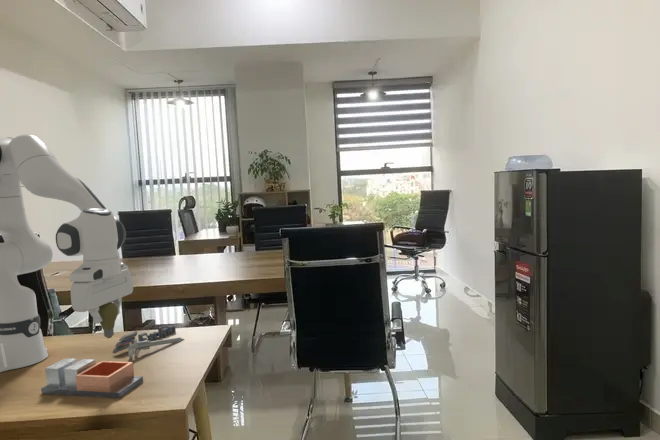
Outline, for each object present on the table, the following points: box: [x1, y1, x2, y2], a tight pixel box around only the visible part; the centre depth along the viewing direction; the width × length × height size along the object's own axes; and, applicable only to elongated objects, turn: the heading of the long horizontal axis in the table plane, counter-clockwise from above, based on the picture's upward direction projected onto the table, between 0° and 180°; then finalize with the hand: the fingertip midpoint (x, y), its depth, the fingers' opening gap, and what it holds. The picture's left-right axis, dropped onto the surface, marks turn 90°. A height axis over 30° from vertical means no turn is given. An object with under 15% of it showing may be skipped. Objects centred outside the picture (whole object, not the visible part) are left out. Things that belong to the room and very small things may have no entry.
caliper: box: [127, 336, 185, 360], centre depth 155 cm, size 20×1×6 cm, turn 145°
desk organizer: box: [40, 357, 144, 399], centre depth 127 cm, size 24×10×6 cm, turn 77°
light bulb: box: [98, 302, 119, 339], centre depth 126 cm, size 6×6×10 cm
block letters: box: [112, 325, 176, 354], centre depth 161 cm, size 25×2×6 cm, turn 151°
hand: (107, 318), depth 126 cm, fingers closed on light bulb, 6 cm apart
